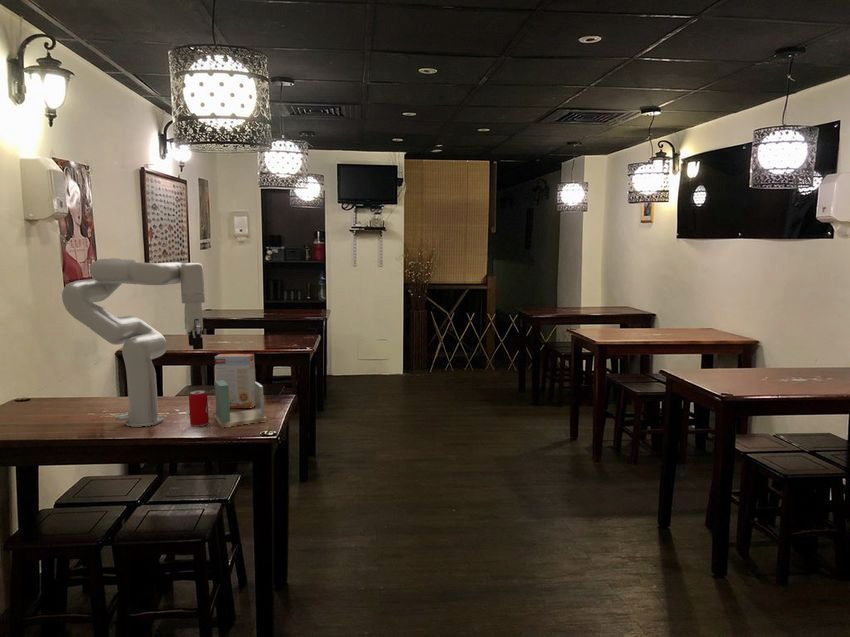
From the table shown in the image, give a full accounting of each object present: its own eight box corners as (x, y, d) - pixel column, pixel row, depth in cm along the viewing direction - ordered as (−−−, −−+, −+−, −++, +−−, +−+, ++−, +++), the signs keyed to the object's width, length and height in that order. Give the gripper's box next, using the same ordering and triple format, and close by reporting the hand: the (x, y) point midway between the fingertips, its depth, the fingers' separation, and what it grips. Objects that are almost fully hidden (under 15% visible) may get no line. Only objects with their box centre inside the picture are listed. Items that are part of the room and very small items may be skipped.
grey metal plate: (261, 416, 235) (260, 386, 234) (255, 411, 243) (254, 382, 242) (264, 416, 236) (262, 386, 234) (258, 410, 244) (257, 381, 242)
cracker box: (257, 405, 258) (255, 353, 255) (251, 409, 252) (249, 356, 249) (223, 404, 259) (220, 353, 257) (216, 408, 253) (214, 355, 251)
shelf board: (221, 428, 227) (221, 424, 226) (214, 418, 239) (213, 414, 239) (267, 421, 234) (267, 417, 234) (257, 412, 246) (257, 409, 246)
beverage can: (211, 422, 234) (209, 389, 232) (205, 427, 228) (203, 393, 226) (194, 422, 234) (192, 389, 233) (187, 427, 228) (185, 393, 226)
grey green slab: (221, 422, 228) (219, 386, 227) (216, 415, 237) (214, 380, 236) (230, 421, 230) (228, 385, 228) (224, 414, 239) (223, 379, 237)
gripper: (178, 297, 231) (181, 344, 233) (185, 301, 216) (188, 351, 218) (200, 296, 235) (202, 343, 237) (208, 299, 220) (211, 349, 222)
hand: (195, 347), depth 228 cm, fingers open, 9 cm apart
